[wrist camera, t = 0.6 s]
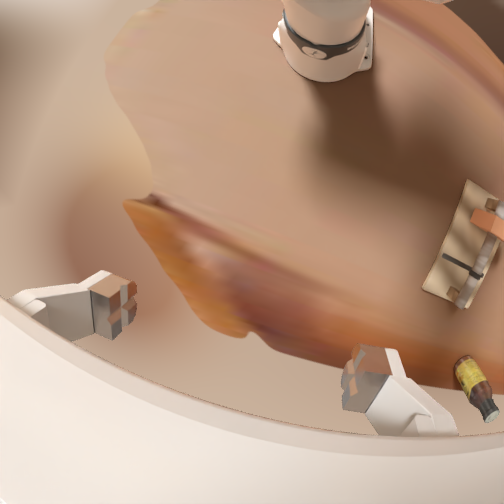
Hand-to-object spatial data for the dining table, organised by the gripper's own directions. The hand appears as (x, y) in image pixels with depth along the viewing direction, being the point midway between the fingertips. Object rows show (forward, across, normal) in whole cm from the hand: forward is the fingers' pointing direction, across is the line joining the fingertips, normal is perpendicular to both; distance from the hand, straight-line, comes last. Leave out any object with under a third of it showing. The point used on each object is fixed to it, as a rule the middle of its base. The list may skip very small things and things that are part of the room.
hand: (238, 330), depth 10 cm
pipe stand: (+44, -38, +1) cm, 59 cm away
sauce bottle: (+44, -53, +29) cm, 75 cm away
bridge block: (+43, -39, -5) cm, 58 cm away
